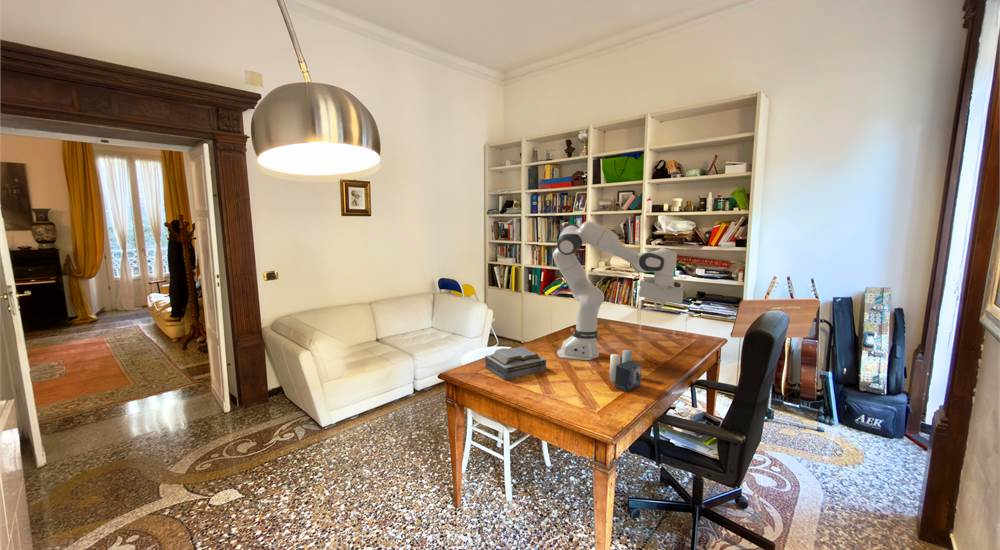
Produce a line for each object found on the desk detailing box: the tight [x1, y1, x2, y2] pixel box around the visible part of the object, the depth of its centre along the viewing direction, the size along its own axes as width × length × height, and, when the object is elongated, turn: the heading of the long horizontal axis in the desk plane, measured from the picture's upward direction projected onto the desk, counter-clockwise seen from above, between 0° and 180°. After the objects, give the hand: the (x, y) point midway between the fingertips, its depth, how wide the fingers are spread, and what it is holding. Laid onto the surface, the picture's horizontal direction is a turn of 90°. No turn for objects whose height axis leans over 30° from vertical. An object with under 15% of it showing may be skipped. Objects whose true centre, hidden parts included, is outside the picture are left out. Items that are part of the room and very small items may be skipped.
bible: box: [484, 346, 547, 381], centre depth 197 cm, size 23×27×10 cm
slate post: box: [621, 349, 633, 363], centre depth 187 cm, size 4×4×12 cm
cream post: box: [609, 353, 621, 383], centre depth 182 cm, size 4×4×12 cm
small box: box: [614, 360, 643, 393], centre depth 174 cm, size 11×6×10 cm, turn 127°
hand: (657, 309), depth 195 cm, fingers closed
